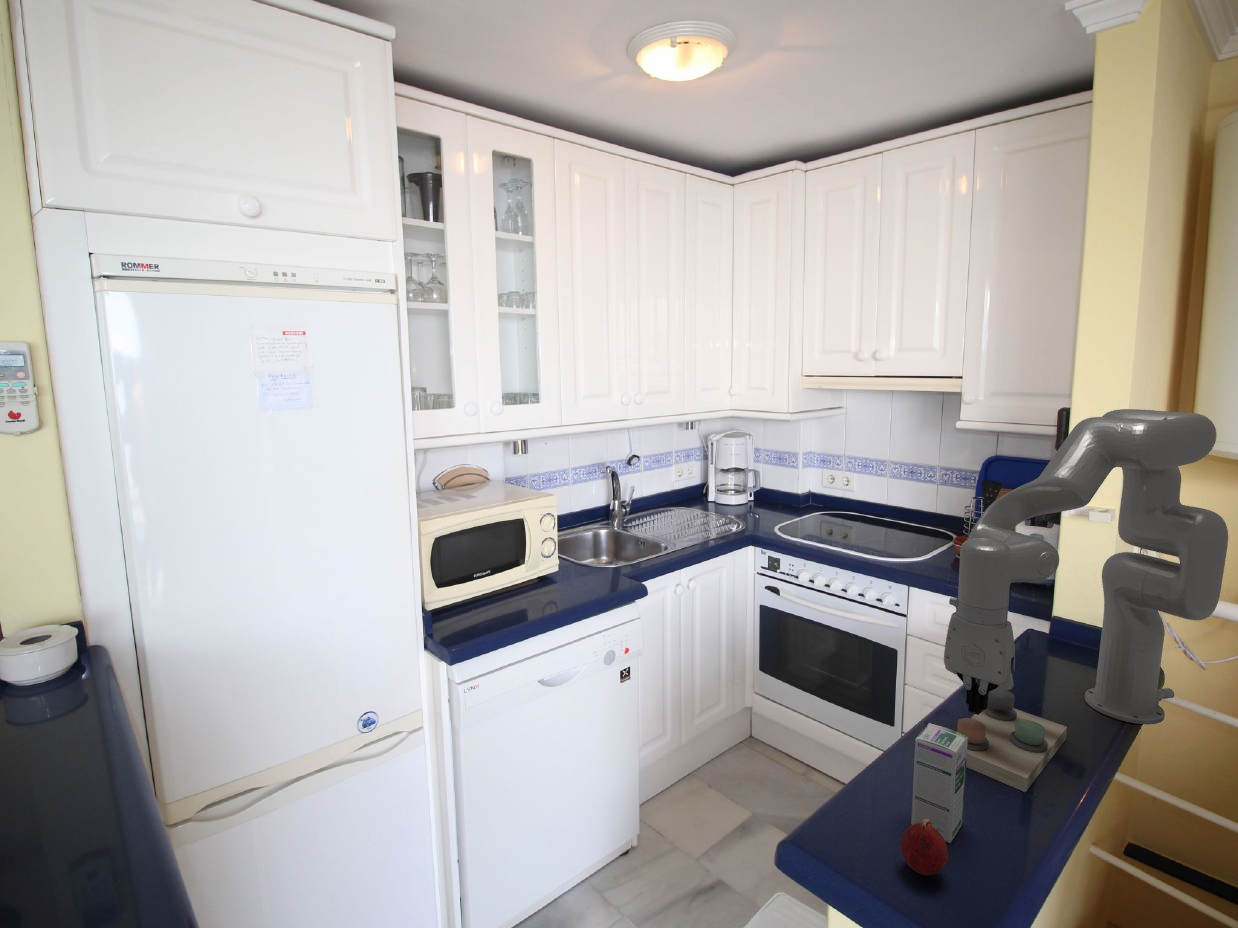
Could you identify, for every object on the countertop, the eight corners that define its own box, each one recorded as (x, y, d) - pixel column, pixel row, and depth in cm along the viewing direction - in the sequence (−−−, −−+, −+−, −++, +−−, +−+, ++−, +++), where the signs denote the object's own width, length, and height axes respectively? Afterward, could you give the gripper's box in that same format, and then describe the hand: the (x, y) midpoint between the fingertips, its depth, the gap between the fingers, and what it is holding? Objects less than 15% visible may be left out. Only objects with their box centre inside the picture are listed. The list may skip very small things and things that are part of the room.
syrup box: (951, 844, 94) (958, 752, 92) (908, 825, 98) (915, 736, 96) (963, 824, 98) (970, 735, 96) (921, 806, 102) (928, 720, 100)
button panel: (988, 711, 129) (990, 696, 129) (1065, 739, 120) (1067, 723, 119) (942, 756, 115) (943, 739, 114) (1025, 792, 105) (1027, 774, 105)
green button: (1019, 727, 117) (1020, 716, 117) (1047, 738, 114) (1048, 726, 113) (1010, 737, 114) (1011, 725, 114) (1039, 748, 111) (1040, 736, 111)
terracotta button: (962, 726, 118) (963, 715, 117) (989, 736, 114) (990, 725, 114) (952, 735, 115) (953, 724, 114) (979, 746, 111) (980, 734, 111)
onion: (940, 897, 85) (945, 842, 84) (894, 876, 88) (897, 823, 87) (949, 869, 89) (954, 817, 88) (905, 851, 93) (908, 800, 92)
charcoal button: (991, 695, 127) (992, 685, 126) (1017, 704, 123) (1018, 693, 123) (983, 703, 124) (984, 693, 123) (1008, 713, 121) (1009, 701, 120)
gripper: (928, 606, 114) (923, 702, 117) (1024, 630, 103) (1016, 736, 106) (945, 594, 119) (941, 687, 122) (1039, 616, 108) (1032, 718, 111)
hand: (976, 710), depth 114 cm, fingers closed
